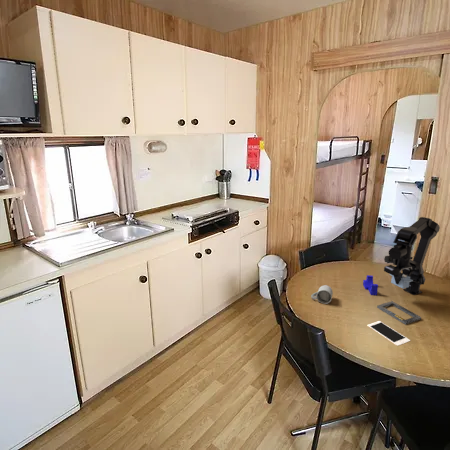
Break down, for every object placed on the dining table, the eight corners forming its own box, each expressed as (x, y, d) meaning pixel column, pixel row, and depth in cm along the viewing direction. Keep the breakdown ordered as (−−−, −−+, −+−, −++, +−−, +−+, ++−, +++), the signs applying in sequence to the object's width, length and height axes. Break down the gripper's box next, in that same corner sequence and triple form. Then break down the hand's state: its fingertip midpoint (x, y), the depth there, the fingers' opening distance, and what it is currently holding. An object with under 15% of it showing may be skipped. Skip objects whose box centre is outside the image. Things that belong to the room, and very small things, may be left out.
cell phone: (397, 346, 131) (397, 345, 131) (366, 326, 146) (366, 324, 145) (410, 341, 134) (410, 340, 134) (379, 321, 148) (379, 320, 148)
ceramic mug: (332, 297, 170) (333, 284, 168) (331, 305, 163) (332, 291, 160) (312, 294, 174) (312, 281, 172) (310, 301, 167) (310, 288, 164)
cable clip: (362, 284, 183) (364, 275, 181) (371, 285, 182) (372, 275, 180) (367, 295, 172) (369, 285, 170) (376, 295, 171) (378, 285, 169)
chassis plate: (391, 303, 163) (392, 300, 162) (420, 319, 149) (421, 316, 148) (377, 307, 159) (377, 305, 159) (405, 324, 145) (405, 322, 145)
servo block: (394, 280, 167) (395, 269, 165) (411, 288, 158) (413, 277, 156) (388, 281, 165) (389, 270, 163) (405, 289, 156) (407, 278, 154)
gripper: (403, 246, 167) (399, 273, 172) (376, 251, 160) (373, 279, 165) (423, 253, 157) (418, 281, 162) (395, 259, 150) (391, 289, 155)
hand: (400, 282), depth 161 cm, fingers closed on servo block, 4 cm apart
